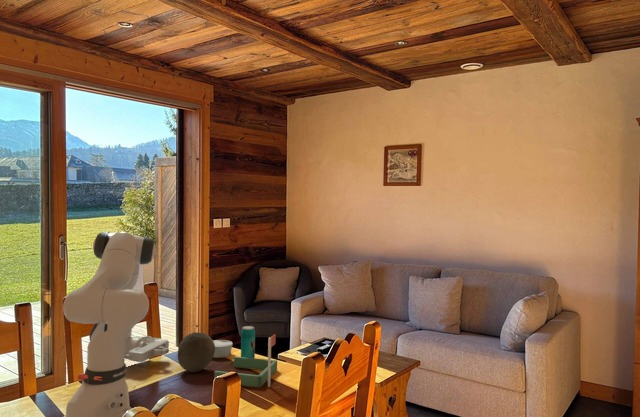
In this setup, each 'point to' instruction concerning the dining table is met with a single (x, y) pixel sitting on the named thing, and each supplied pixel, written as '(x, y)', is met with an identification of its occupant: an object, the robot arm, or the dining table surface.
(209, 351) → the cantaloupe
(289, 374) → the dining table surface
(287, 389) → the dining table surface
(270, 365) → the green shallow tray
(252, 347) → the beverage can
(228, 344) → the ramekin
